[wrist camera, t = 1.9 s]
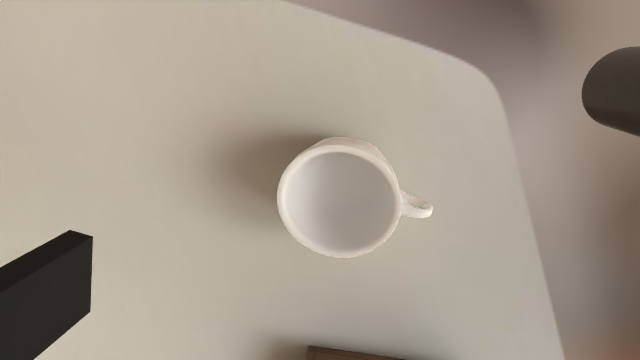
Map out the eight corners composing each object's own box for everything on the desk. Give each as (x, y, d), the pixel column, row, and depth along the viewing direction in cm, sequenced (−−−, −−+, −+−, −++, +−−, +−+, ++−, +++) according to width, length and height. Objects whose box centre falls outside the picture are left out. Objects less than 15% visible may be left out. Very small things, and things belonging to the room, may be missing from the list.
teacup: (289, 215, 32) (270, 245, 27) (302, 119, 30) (283, 132, 24) (416, 241, 31) (421, 277, 26) (440, 143, 28) (450, 162, 23)
